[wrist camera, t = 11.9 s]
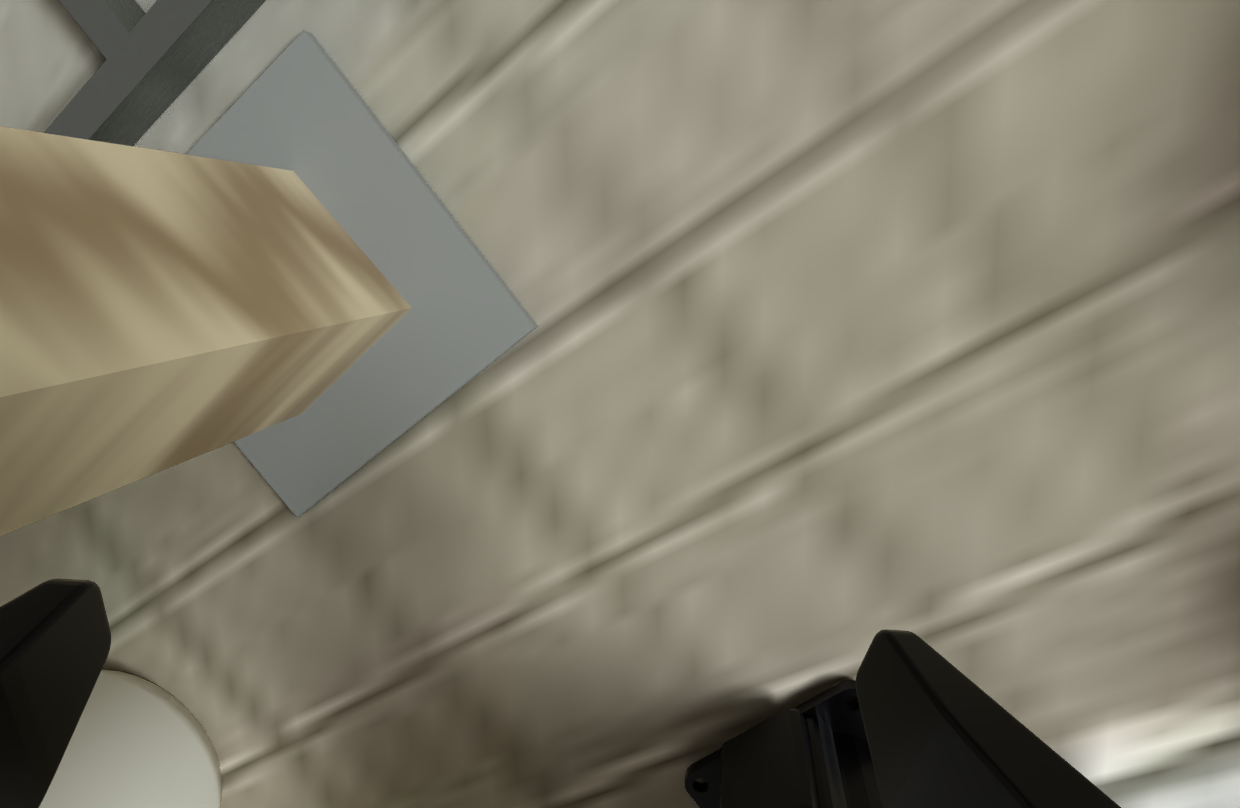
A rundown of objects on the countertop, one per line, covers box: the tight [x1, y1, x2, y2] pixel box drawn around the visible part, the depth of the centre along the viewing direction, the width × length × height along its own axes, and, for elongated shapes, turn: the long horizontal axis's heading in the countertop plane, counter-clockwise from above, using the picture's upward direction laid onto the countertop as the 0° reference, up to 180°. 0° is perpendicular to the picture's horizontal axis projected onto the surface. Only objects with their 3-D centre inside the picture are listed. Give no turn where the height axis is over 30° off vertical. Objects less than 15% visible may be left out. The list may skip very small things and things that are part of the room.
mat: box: [186, 30, 538, 517], centre depth 21 cm, size 10×10×1 cm
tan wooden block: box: [0, 126, 411, 536], centre depth 15 cm, size 5×5×13 cm
